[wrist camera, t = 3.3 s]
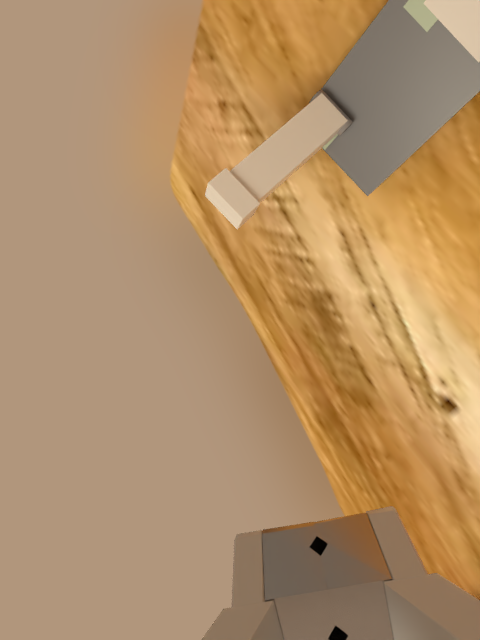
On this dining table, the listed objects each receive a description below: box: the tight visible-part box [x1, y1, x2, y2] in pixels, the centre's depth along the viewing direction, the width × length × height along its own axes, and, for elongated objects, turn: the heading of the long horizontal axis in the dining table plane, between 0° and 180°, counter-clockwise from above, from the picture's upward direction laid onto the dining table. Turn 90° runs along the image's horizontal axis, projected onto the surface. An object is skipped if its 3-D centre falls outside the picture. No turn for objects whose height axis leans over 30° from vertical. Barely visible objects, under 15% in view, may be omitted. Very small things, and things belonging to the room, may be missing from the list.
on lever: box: [205, 89, 353, 229], centre depth 35 cm, size 4×2×13 cm
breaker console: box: [322, 0, 480, 196], centre depth 33 cm, size 9×19×3 cm, turn 143°
